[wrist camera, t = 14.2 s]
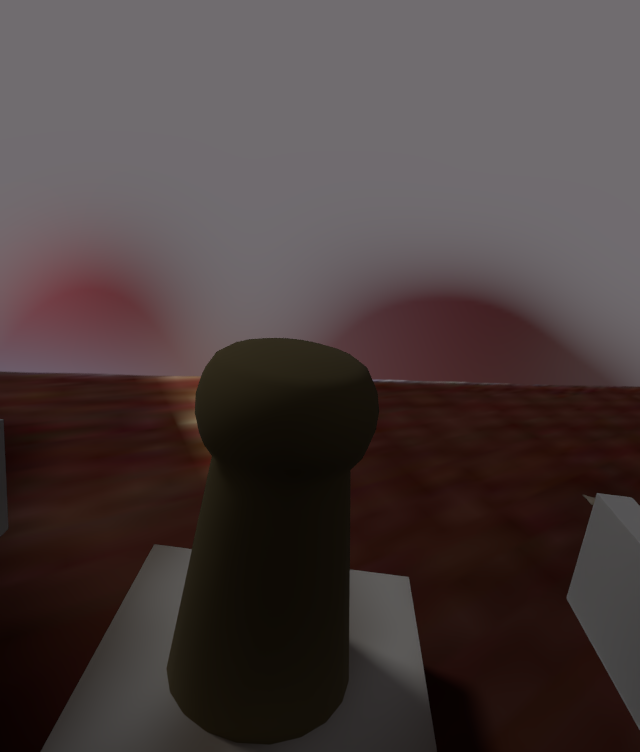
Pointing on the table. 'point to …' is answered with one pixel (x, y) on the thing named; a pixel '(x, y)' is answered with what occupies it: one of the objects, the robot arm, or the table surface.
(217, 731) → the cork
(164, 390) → the table surface
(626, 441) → the table surface
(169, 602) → the white stand
